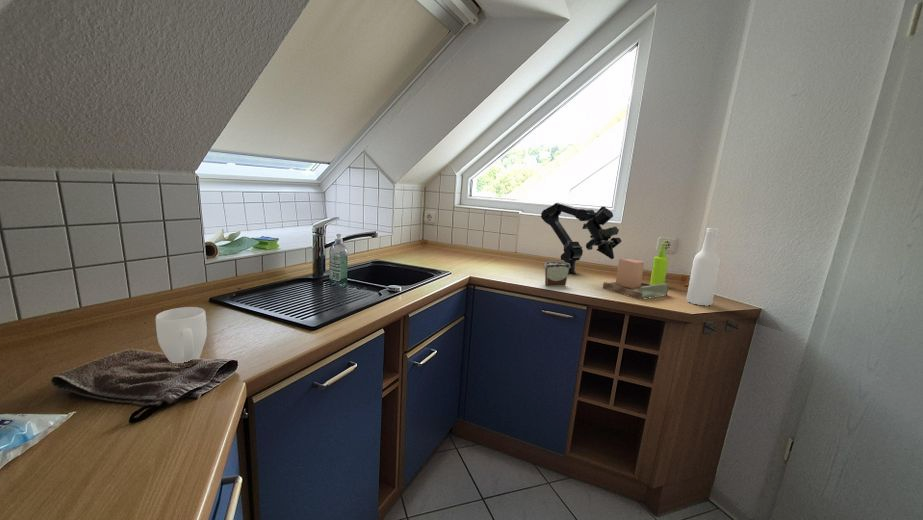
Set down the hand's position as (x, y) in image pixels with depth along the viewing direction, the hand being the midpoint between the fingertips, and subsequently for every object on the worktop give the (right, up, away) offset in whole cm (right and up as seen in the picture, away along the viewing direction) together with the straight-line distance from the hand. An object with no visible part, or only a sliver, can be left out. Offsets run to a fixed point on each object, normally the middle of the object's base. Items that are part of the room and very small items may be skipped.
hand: (613, 258), depth 170 cm
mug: (-126, -23, -92) cm, 158 cm away
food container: (-28, -12, -4) cm, 31 cm away
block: (+4, -12, -6) cm, 14 cm away
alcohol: (+26, -18, -20) cm, 38 cm away
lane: (+6, -14, -8) cm, 18 cm away
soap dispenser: (+23, -13, +6) cm, 27 cm away
